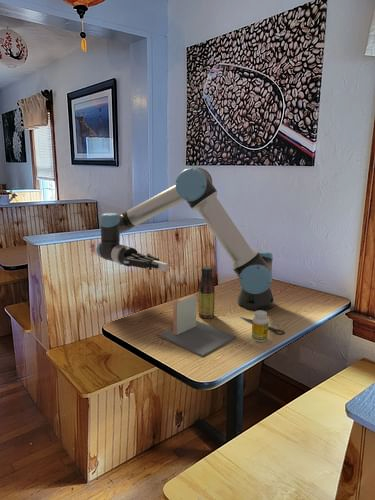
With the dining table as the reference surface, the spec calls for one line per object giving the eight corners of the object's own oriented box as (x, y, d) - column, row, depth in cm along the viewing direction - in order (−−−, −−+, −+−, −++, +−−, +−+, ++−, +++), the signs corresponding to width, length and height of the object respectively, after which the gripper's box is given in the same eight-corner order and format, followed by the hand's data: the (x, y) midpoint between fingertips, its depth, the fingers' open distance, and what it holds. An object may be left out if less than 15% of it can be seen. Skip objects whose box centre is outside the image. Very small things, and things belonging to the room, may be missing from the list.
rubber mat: (158, 336, 126) (158, 334, 126) (193, 320, 139) (193, 319, 139) (202, 356, 113) (202, 355, 113) (236, 337, 126) (236, 336, 126)
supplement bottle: (254, 333, 129) (255, 308, 127) (269, 337, 127) (271, 311, 124) (249, 340, 124) (250, 313, 122) (264, 343, 122) (266, 316, 120)
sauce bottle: (203, 311, 148) (205, 264, 144) (217, 315, 145) (218, 266, 140) (194, 316, 143) (195, 267, 138) (208, 320, 139) (209, 270, 135)
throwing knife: (280, 336, 128) (280, 335, 128) (235, 319, 142) (235, 317, 142) (287, 333, 131) (287, 331, 130) (242, 316, 145) (242, 314, 145)
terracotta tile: (173, 333, 127) (173, 301, 124) (192, 325, 134) (193, 294, 131) (176, 335, 126) (177, 302, 123) (196, 326, 133) (196, 295, 130)
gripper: (137, 261, 152) (178, 274, 136) (111, 267, 143) (152, 281, 127) (137, 244, 150) (179, 254, 135) (111, 248, 141) (152, 260, 125)
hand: (166, 267), depth 131 cm, fingers closed
